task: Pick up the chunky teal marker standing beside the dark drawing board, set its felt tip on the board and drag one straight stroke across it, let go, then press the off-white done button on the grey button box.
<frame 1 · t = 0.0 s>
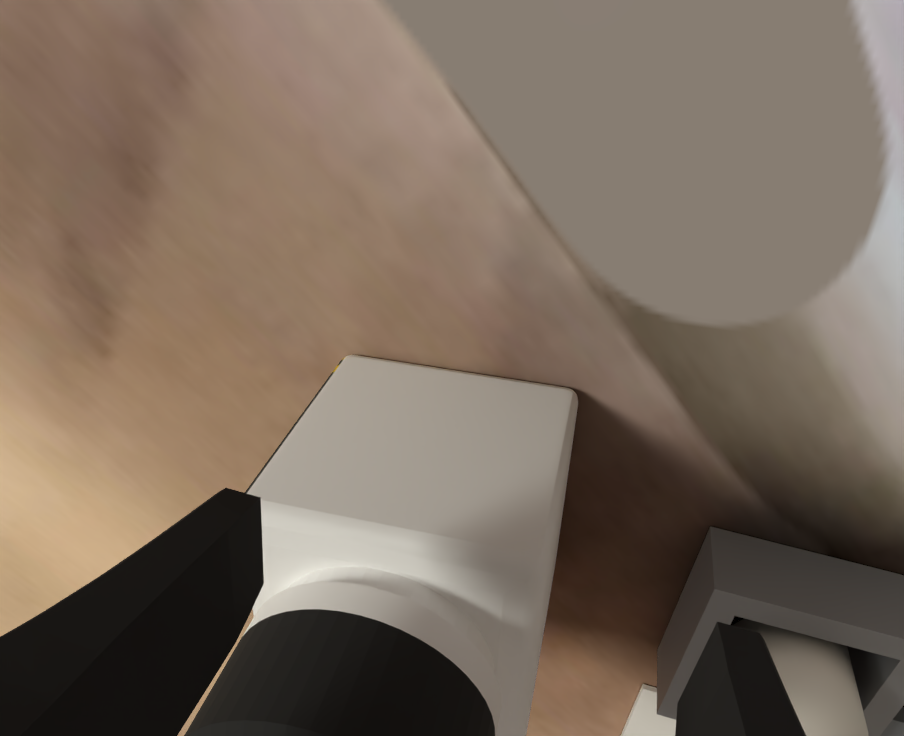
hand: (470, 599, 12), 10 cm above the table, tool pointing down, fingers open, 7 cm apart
button box: (776, 617, 23), on the table
medicine bottle: (456, 457, 24), on the table
done button: (788, 691, 21), point 3 cm above the table, slide at 0.0 cm
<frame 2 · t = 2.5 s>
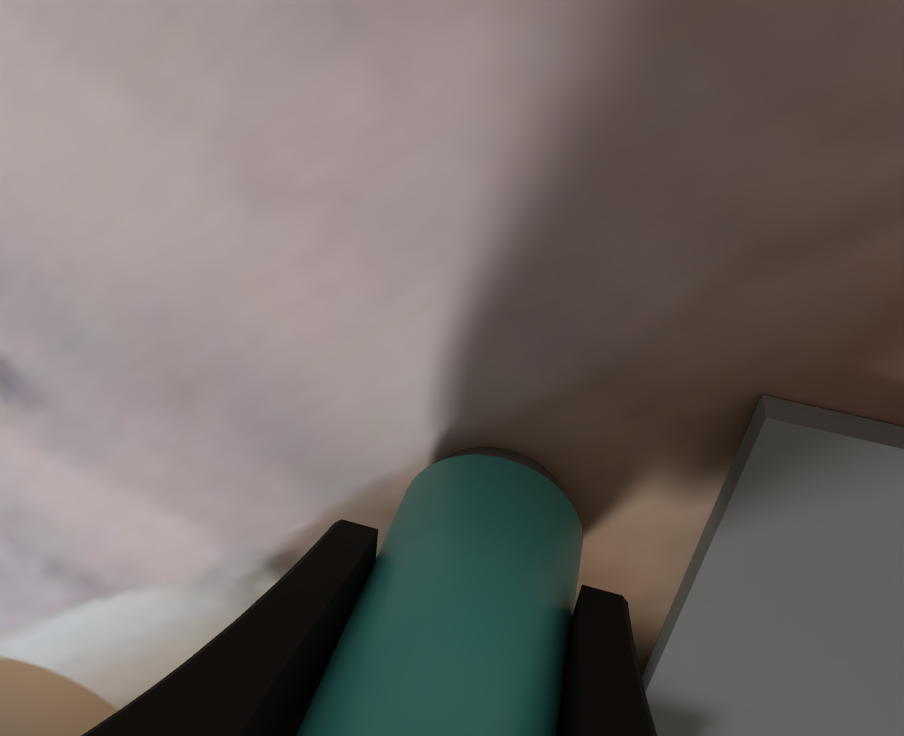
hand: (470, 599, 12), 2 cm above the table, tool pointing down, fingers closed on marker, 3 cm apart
marker: (496, 505, 13), on the table, touching gripper
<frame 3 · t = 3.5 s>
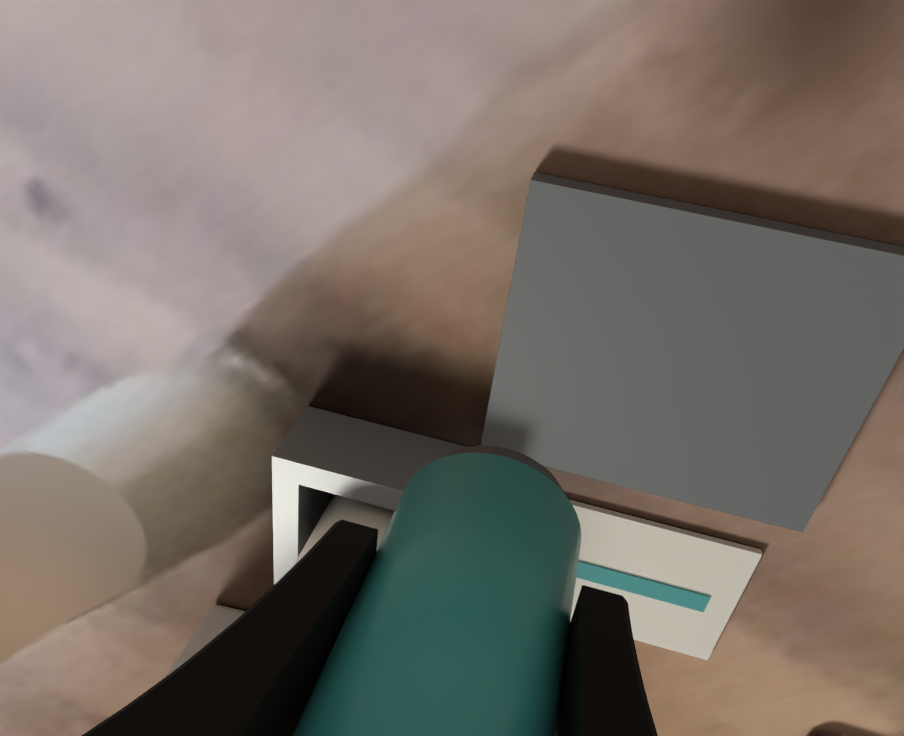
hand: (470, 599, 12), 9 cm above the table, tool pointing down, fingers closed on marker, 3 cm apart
marker: (495, 503, 13), point 7 cm above the table, touching gripper
button box: (393, 501, 24), on the table
drawing board: (678, 359, 19), on the table
medicine bottle: (304, 671, 31), on the table
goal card: (635, 579, 23), on the table
done button: (365, 563, 22), point 3 cm above the table, slide at 0.0 cm
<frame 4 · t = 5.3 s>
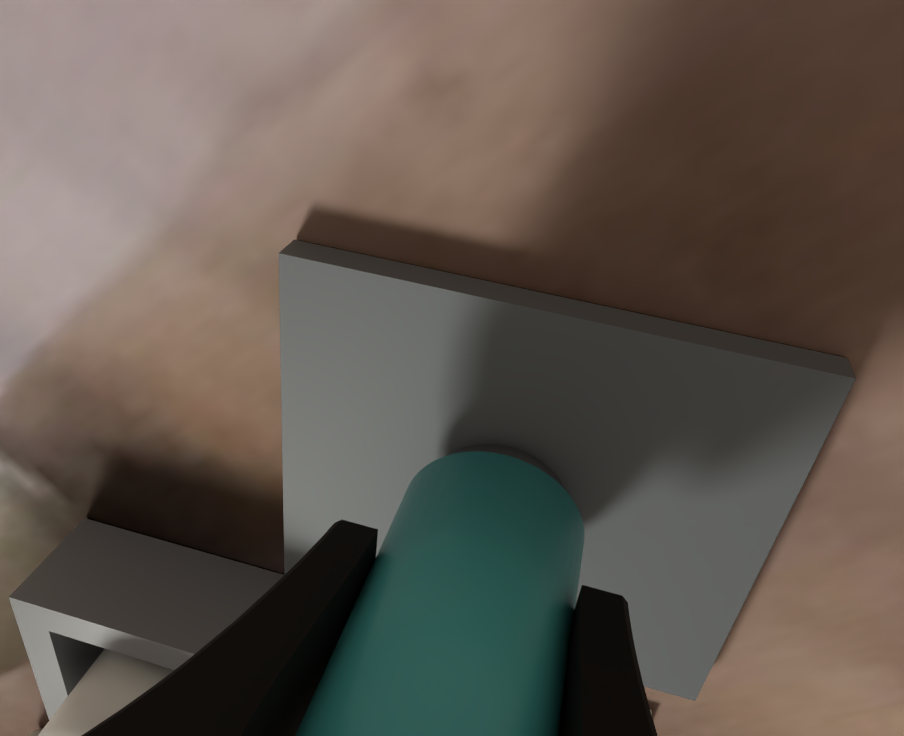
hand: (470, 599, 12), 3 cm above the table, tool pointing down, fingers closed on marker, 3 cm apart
marker: (498, 502, 13), point 1 cm above the table, touching gripper
button box: (206, 630, 19), on the table
drawing board: (516, 481, 14), on the table
done button: (145, 725, 17), point 3 cm above the table, slide at 0.0 cm
when the fingers open (3 cm above the table, at t = 6.2 s): marker stays where it is, resting on drawing board.
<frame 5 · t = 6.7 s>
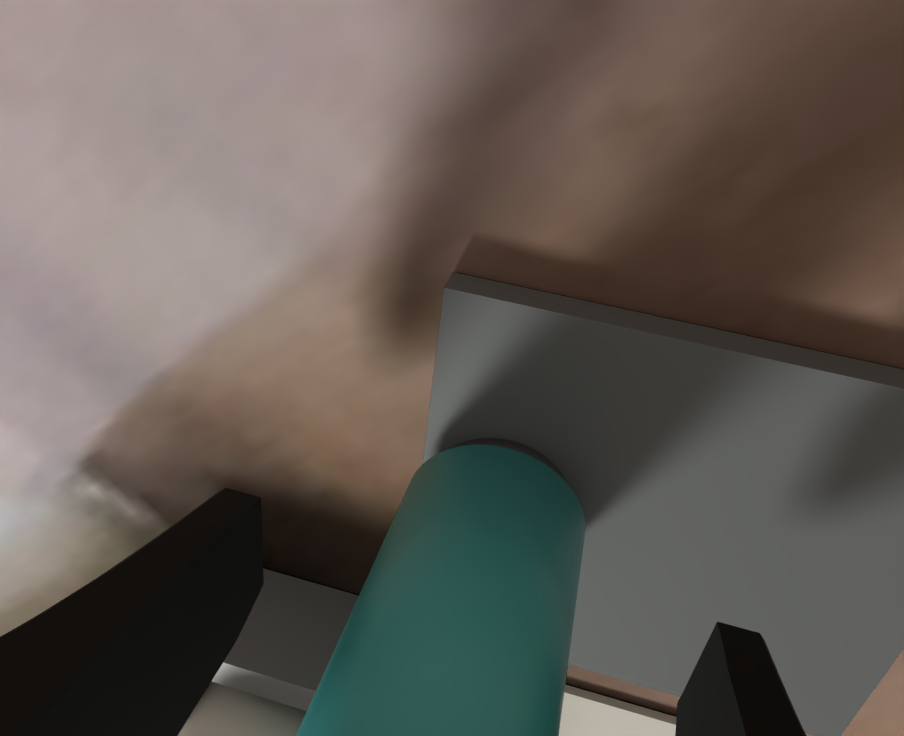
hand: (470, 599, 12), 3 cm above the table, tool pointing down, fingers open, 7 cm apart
marker: (499, 495, 13), point 1 cm above the table, touching drawing board
button box: (305, 660, 19), on the table
drawing board: (663, 518, 14), on the table
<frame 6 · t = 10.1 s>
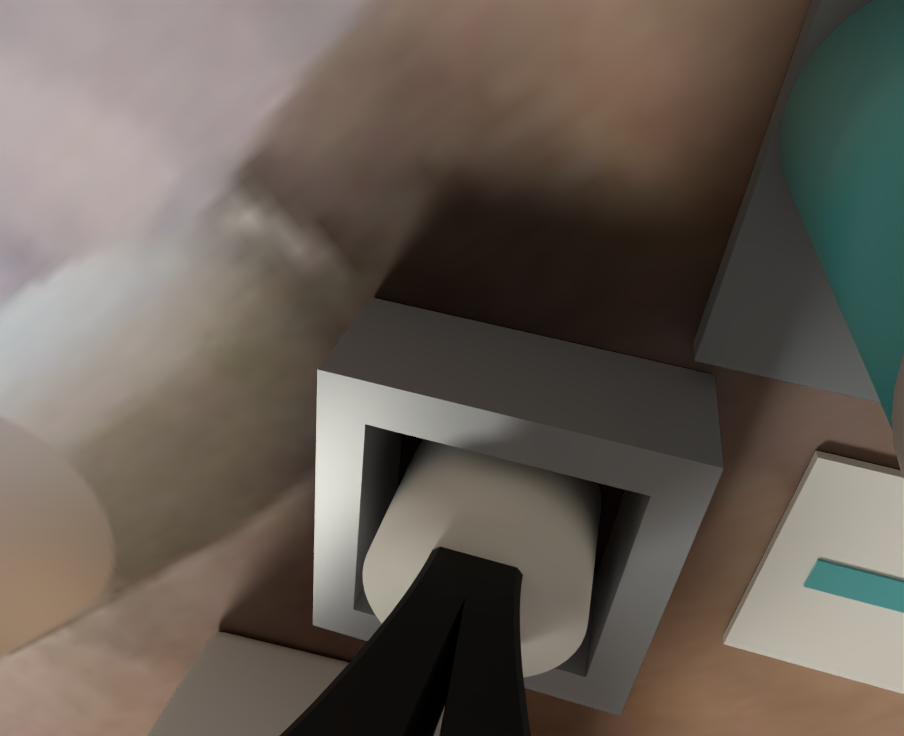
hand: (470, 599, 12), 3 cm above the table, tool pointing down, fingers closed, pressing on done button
button box: (510, 466, 14), on the table
medicine bottle: (347, 728, 21), on the table
done button: (488, 543, 13), point 2 cm above the table, slide at 0.6 cm, touching gripper
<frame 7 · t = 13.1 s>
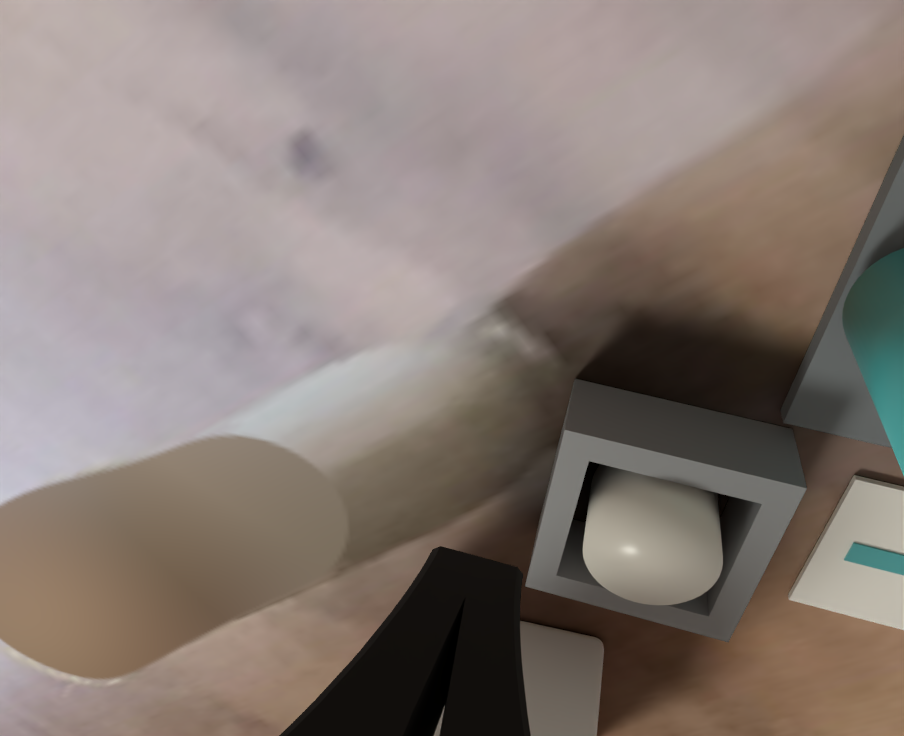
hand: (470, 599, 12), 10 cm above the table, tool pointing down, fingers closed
button box: (653, 483, 22), on the table
medicine bottle: (501, 670, 29), on the table
done button: (651, 523, 21), point 2 cm above the table, slide at 0.9 cm
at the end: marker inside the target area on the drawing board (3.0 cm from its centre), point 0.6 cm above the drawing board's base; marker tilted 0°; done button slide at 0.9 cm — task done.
